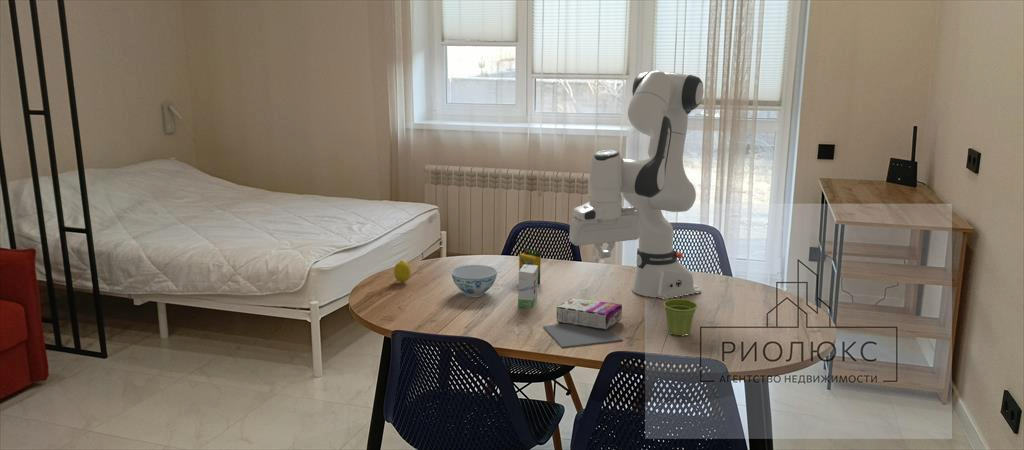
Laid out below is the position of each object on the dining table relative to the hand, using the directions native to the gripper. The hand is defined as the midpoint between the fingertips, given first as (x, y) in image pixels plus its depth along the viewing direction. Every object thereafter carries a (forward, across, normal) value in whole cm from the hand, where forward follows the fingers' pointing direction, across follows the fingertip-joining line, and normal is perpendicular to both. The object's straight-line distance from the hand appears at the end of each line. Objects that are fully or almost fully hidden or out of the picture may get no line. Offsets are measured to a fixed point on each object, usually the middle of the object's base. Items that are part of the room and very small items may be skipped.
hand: (604, 257), depth 218 cm
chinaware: (+22, +28, -42) cm, 56 cm away
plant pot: (+23, -20, +8) cm, 31 cm away
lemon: (+22, +49, -60) cm, 81 cm away
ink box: (+23, +14, -28) cm, 39 cm away
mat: (+22, +7, +1) cm, 23 cm away
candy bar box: (+19, -4, -1) cm, 20 cm away
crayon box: (+23, +7, -48) cm, 54 cm away
